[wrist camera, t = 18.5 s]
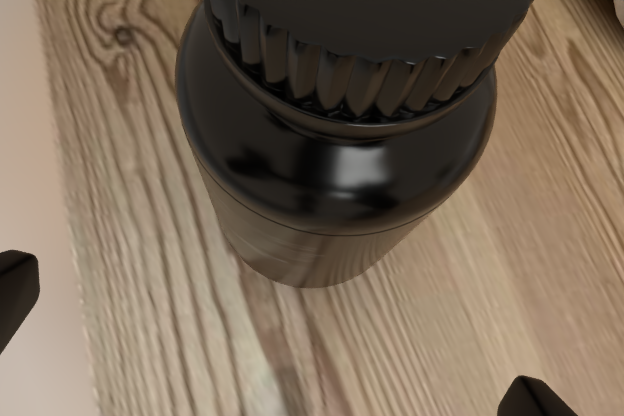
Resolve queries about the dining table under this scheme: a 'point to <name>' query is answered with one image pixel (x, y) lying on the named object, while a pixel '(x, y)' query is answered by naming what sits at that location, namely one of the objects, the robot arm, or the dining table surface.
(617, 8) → the seashell
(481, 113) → the supplement bottle
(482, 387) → the dining table surface
